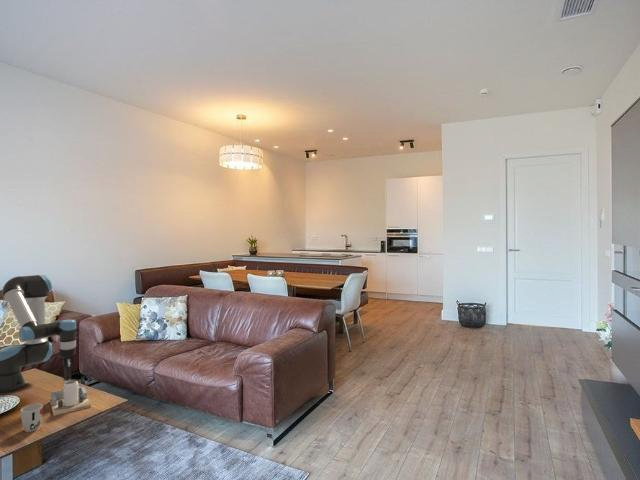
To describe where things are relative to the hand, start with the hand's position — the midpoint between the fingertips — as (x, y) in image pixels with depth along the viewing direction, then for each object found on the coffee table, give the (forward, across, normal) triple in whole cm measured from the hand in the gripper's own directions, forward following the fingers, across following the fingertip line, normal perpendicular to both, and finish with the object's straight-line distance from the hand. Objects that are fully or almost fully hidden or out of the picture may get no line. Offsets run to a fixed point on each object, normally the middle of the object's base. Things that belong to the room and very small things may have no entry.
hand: (67, 390), depth 209 cm
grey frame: (+2, +8, 0) cm, 8 cm away
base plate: (+4, +12, 0) cm, 13 cm away
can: (+2, +16, 0) cm, 16 cm away
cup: (+4, +31, -17) cm, 36 cm away
